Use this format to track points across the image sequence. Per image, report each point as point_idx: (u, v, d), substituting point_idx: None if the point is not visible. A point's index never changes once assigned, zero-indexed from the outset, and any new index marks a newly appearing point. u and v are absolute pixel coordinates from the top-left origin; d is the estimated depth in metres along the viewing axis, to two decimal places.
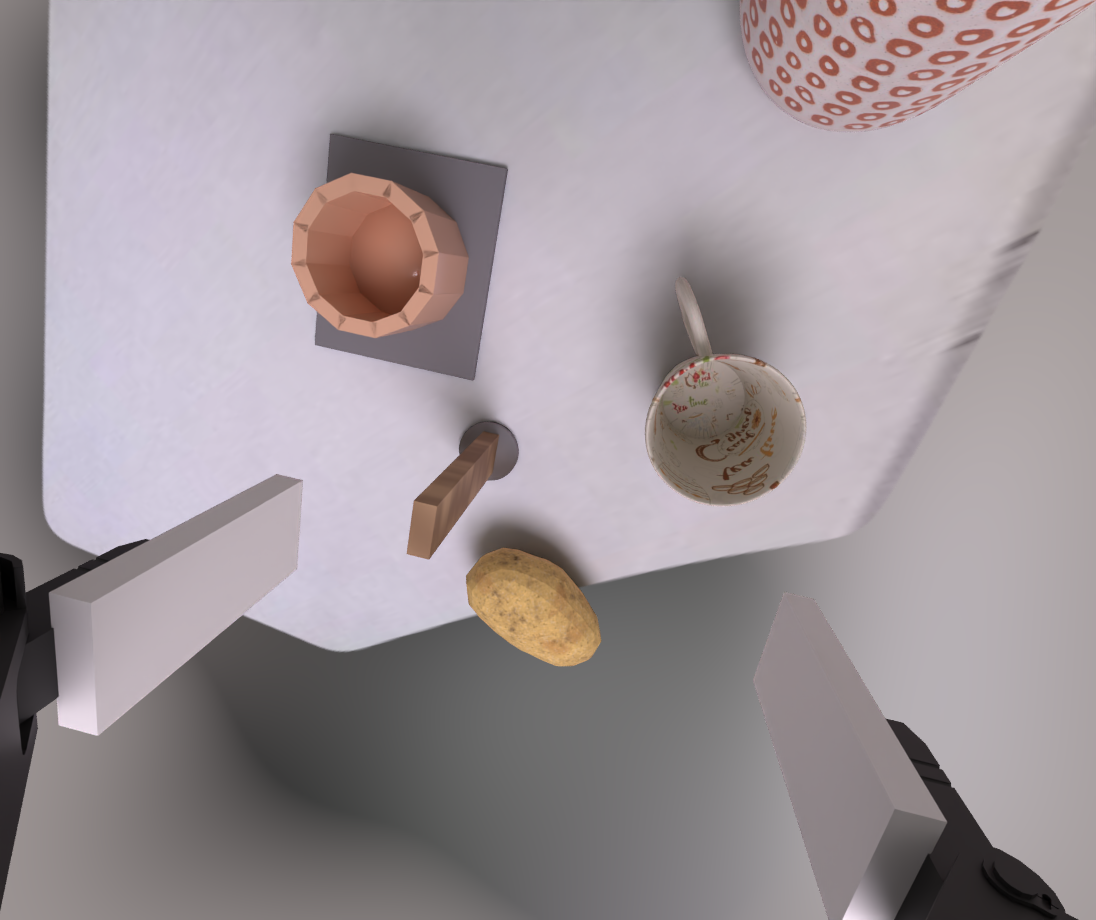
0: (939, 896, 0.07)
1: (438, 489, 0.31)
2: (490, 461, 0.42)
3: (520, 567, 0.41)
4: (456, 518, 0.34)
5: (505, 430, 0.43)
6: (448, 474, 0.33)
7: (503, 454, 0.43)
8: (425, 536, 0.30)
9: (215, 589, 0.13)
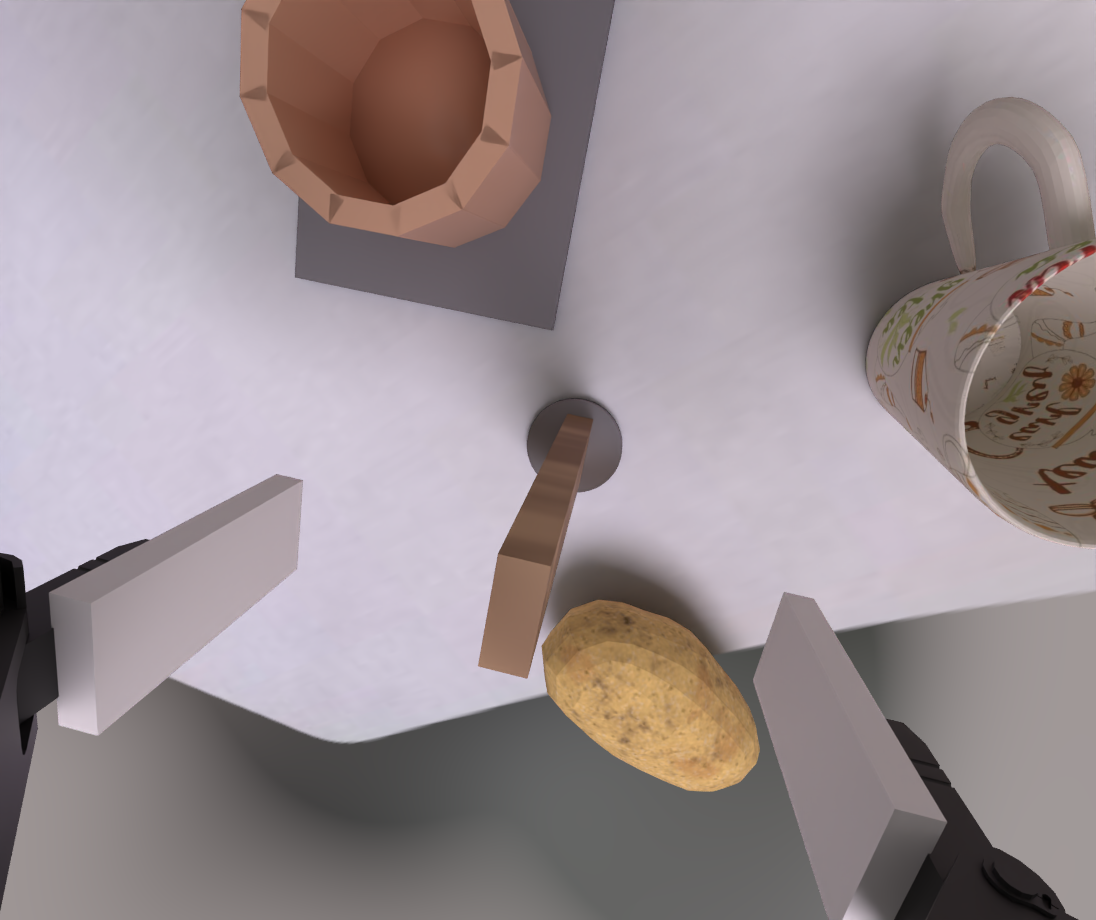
0: (939, 896, 0.07)
1: (538, 522, 0.15)
2: (583, 462, 0.25)
3: (637, 638, 0.25)
4: (555, 571, 0.18)
5: (604, 411, 0.26)
6: (545, 489, 0.17)
7: (599, 451, 0.27)
8: (521, 631, 0.13)
9: (215, 589, 0.13)
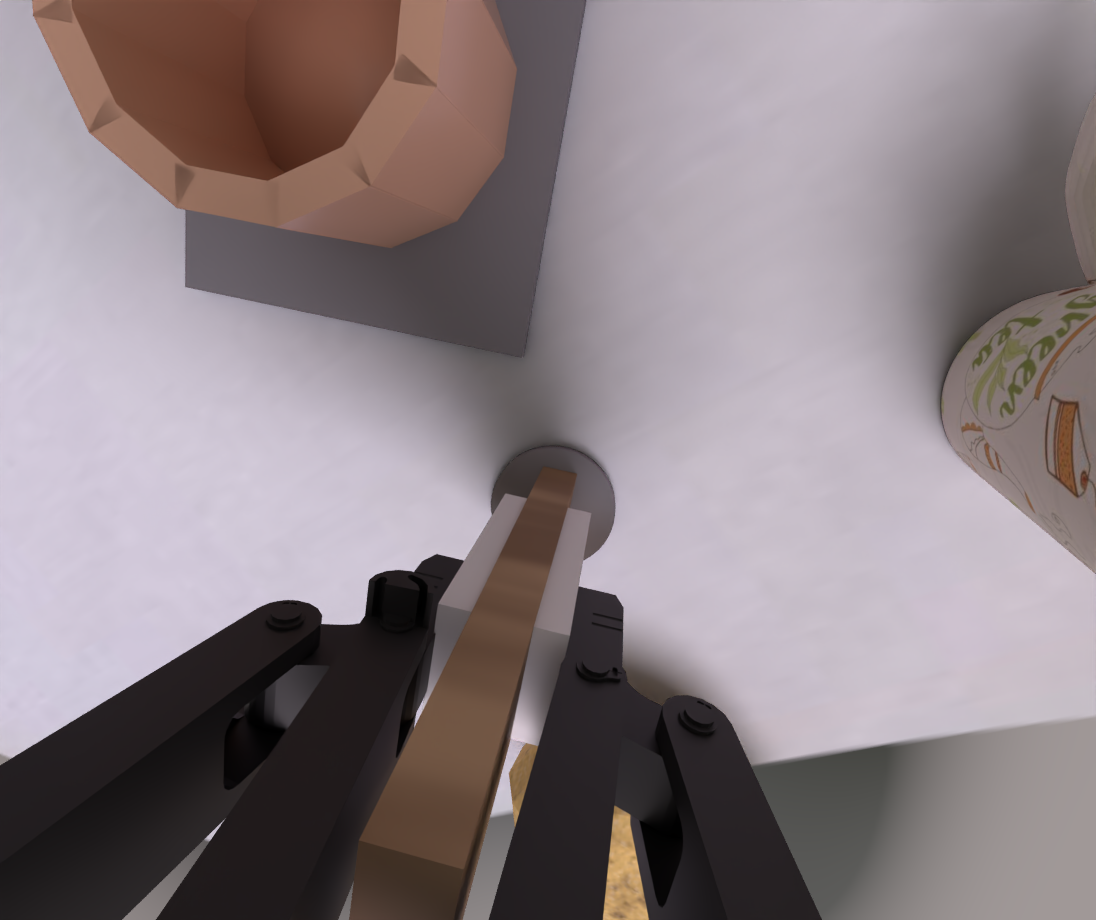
0: (551, 703, 0.10)
1: (462, 721, 0.08)
2: None
3: None
4: (509, 742, 0.12)
5: (591, 463, 0.20)
6: (488, 625, 0.11)
7: None
8: None
9: None
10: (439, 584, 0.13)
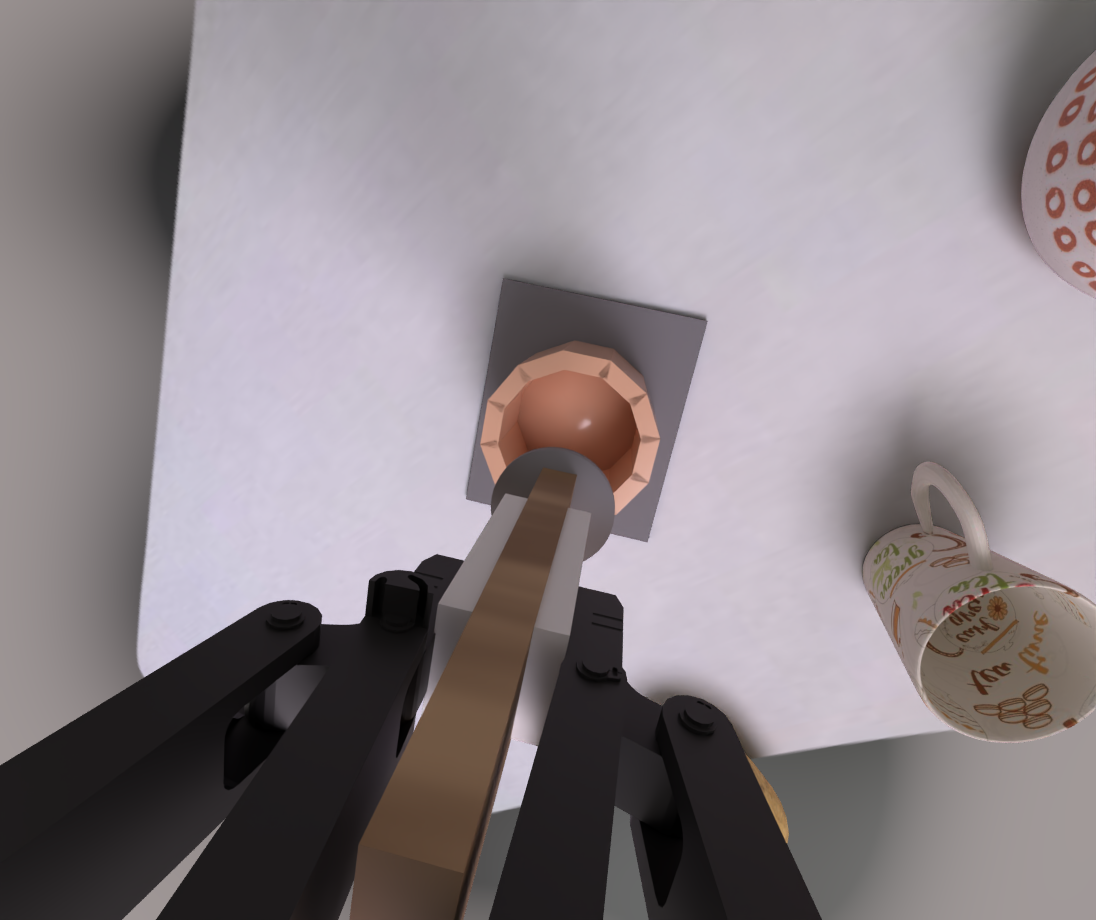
0: (551, 702, 0.10)
1: (462, 724, 0.08)
2: None
3: None
4: (508, 744, 0.12)
5: (590, 464, 0.20)
6: (488, 628, 0.11)
7: None
8: None
9: None
10: (439, 584, 0.13)
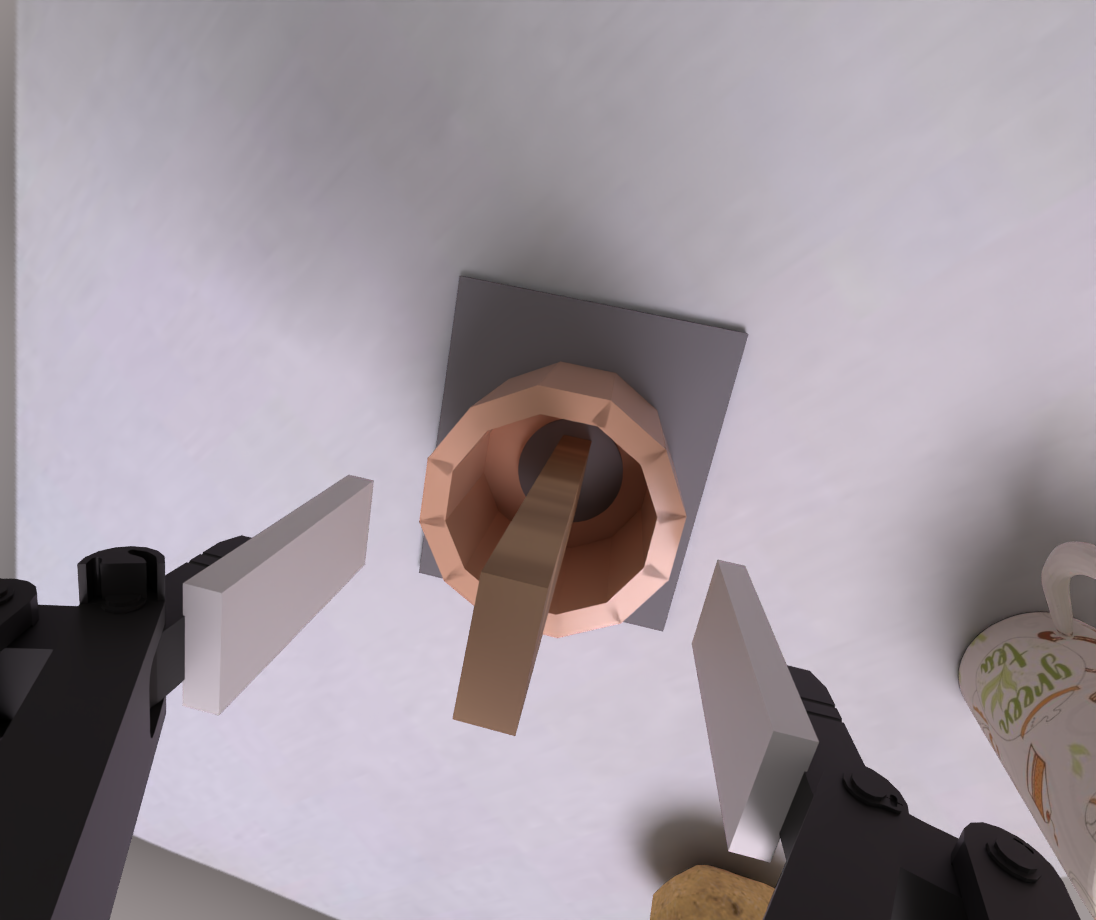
0: (809, 811, 0.08)
1: (532, 539, 0.12)
2: (580, 487, 0.23)
3: None
4: (550, 604, 0.15)
5: (603, 432, 0.24)
6: (539, 504, 0.15)
7: (598, 477, 0.24)
8: (508, 673, 0.11)
9: (306, 582, 0.14)
10: None
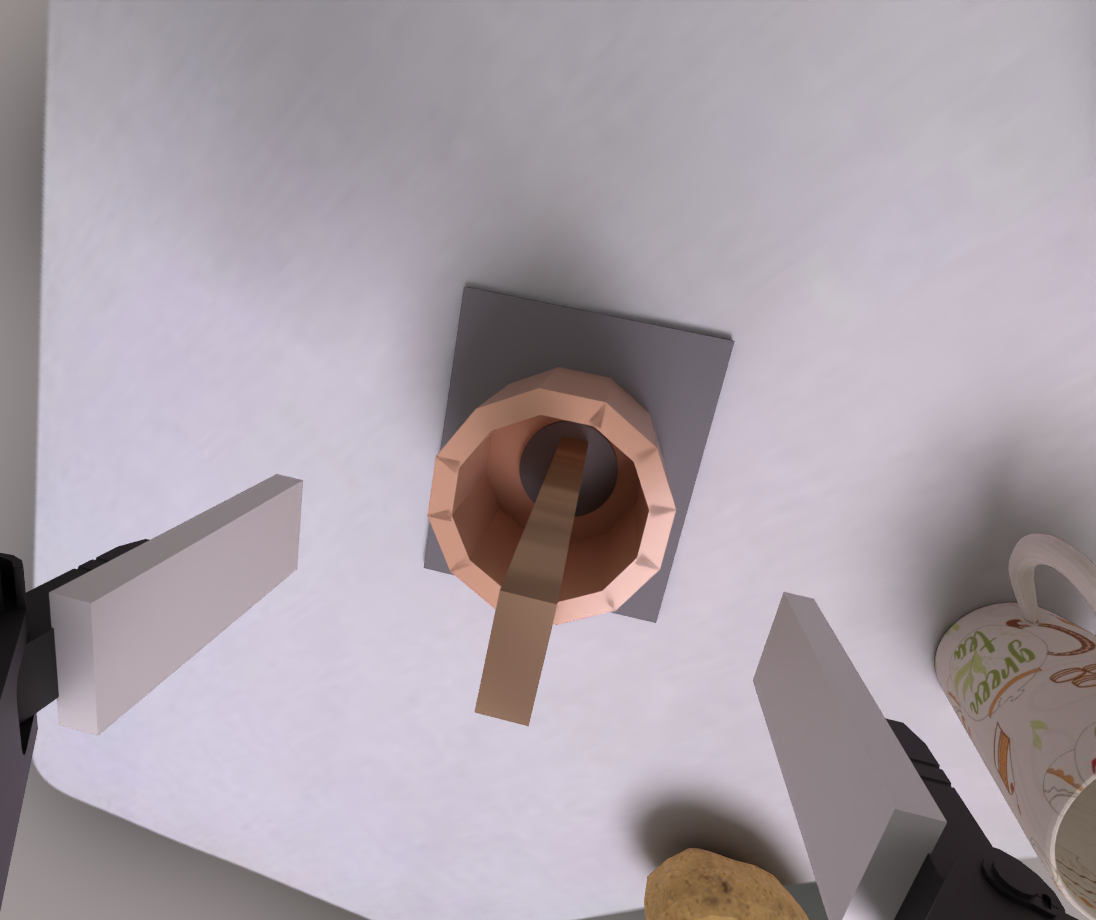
0: (939, 896, 0.07)
1: (540, 554, 0.14)
2: None
3: (737, 908, 0.28)
4: None
5: (599, 434, 0.26)
6: (544, 517, 0.16)
7: (594, 475, 0.26)
8: (522, 674, 0.12)
9: (215, 589, 0.13)
10: None
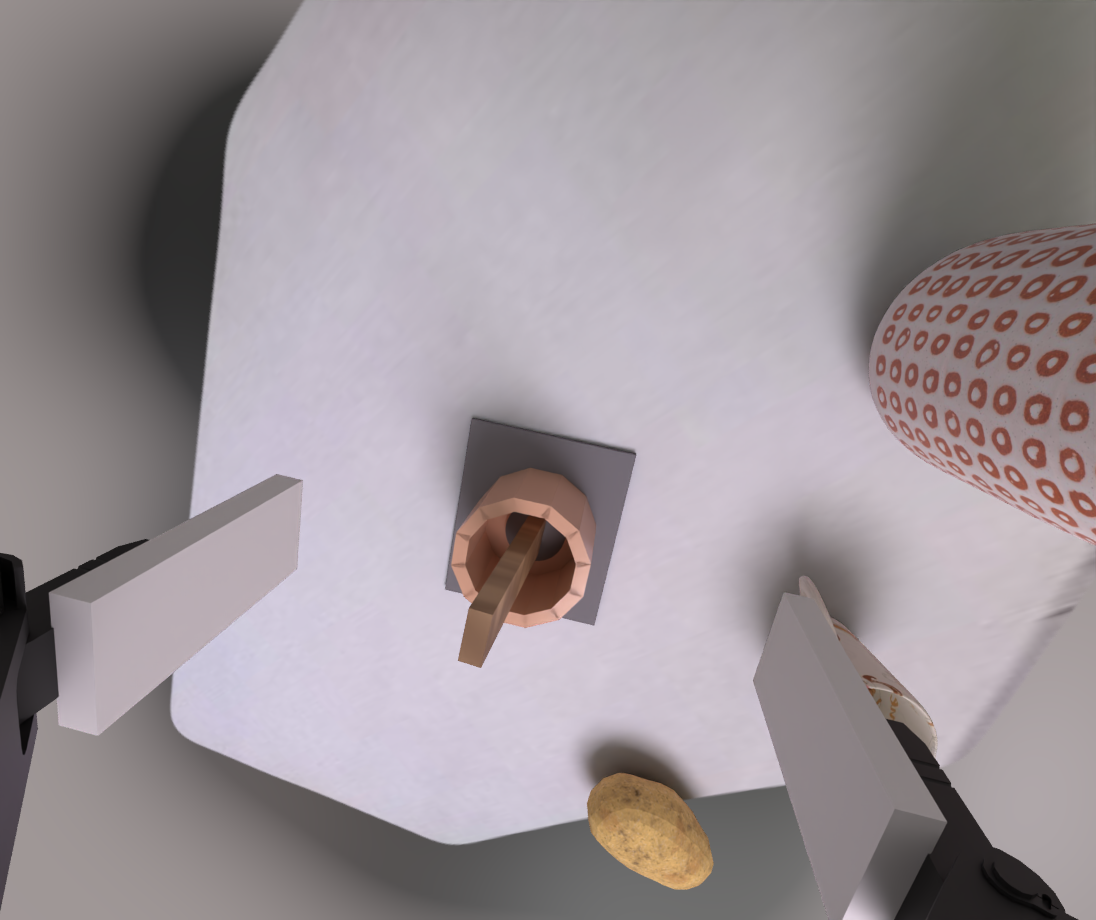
0: (939, 896, 0.07)
1: (492, 591, 0.30)
2: (538, 544, 0.41)
3: (643, 805, 0.44)
4: (506, 614, 0.33)
5: None
6: (501, 570, 0.32)
7: (550, 536, 0.42)
8: (478, 644, 0.29)
9: (215, 589, 0.13)
10: None
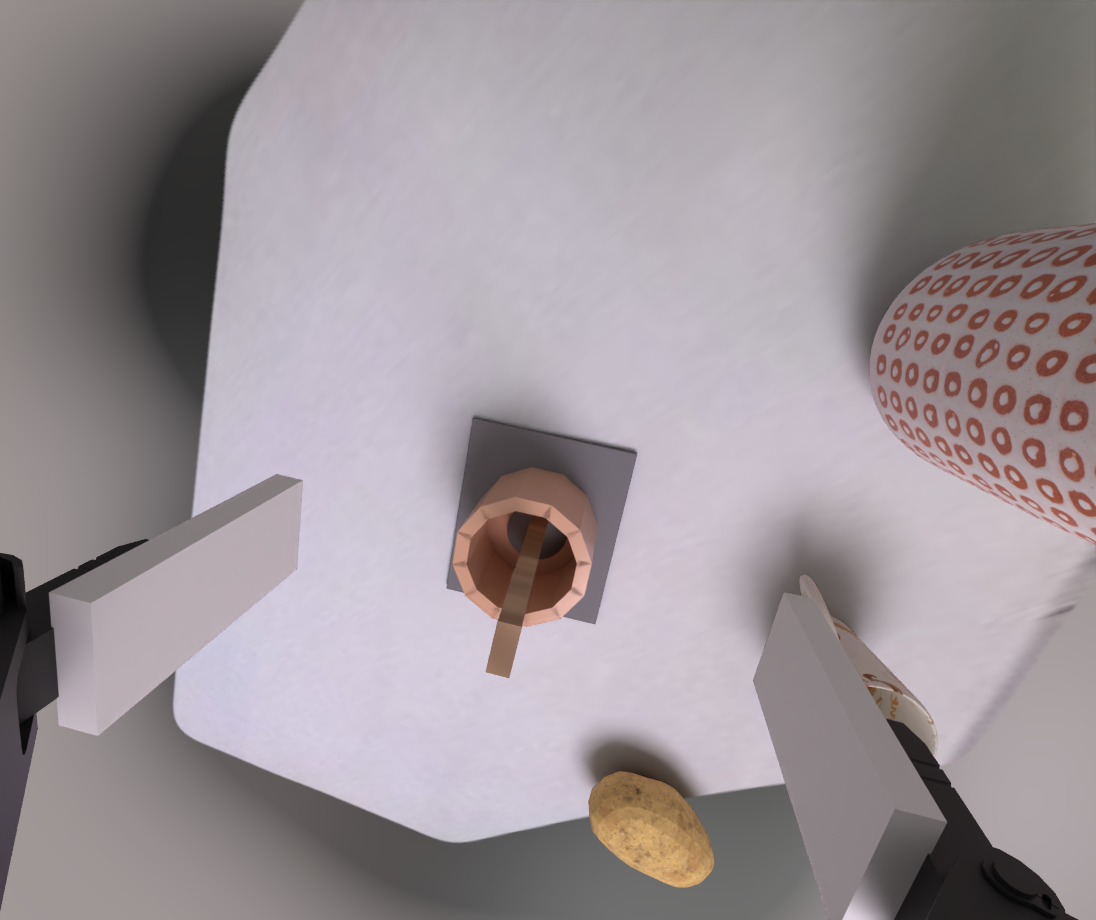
0: (939, 896, 0.07)
1: (516, 601, 0.30)
2: None
3: (644, 803, 0.44)
4: None
5: None
6: (519, 578, 0.33)
7: (552, 535, 0.42)
8: (506, 655, 0.29)
9: (215, 589, 0.13)
10: None
